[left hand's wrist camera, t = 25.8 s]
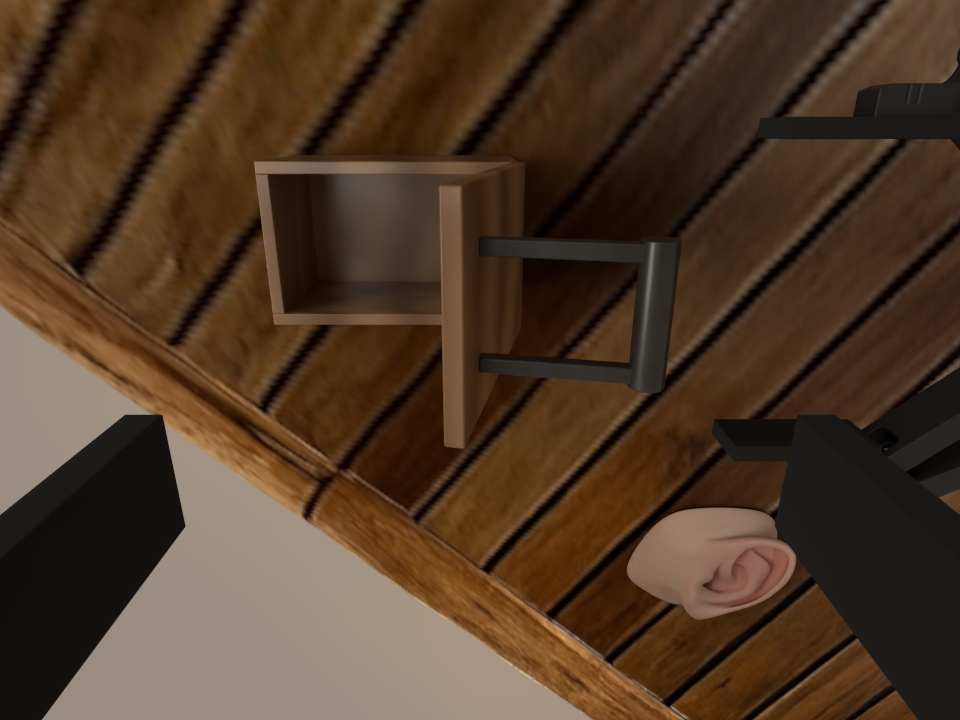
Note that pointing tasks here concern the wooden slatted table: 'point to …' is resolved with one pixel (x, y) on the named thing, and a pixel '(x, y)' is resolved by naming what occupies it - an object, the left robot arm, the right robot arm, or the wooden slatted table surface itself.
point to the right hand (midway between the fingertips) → (744, 298)
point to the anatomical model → (712, 560)
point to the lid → (498, 297)
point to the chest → (357, 235)
